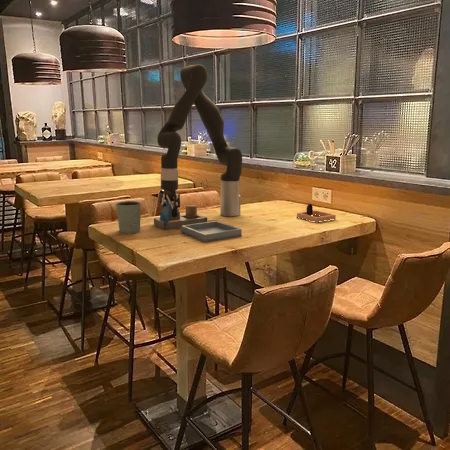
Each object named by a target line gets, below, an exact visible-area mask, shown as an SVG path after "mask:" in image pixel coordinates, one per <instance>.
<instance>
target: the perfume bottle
mask: <svg viewBox="0 0 450 450" xmlns="http://www.w3.org/2000/svg"><path fill="white" fill-rule="evenodd" d="M166 201H167V202H166V205H167V206H166V207H163V208H161V210H160V211H159V218H160V220H163V221H165V222H168V221H173V220H180V215H181V212H180V211H179V208H177V217H172V207H171V205H170V204H169V201H168V200H167V199H166ZM173 205H174V204H173Z"/></svg>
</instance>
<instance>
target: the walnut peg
mask: <svg viewBox="0 0 450 450" xmlns="http://www.w3.org/2000/svg"><path fill="white" fill-rule="evenodd" d="M197 212H198V205H196V204H186V205H185V215H186V218H187V219H194V218H197V214H198V213H197Z"/></svg>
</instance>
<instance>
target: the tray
mask: <svg viewBox="0 0 450 450" xmlns="http://www.w3.org/2000/svg"><path fill="white" fill-rule="evenodd" d="M242 230H243V229H242V228H240V227H237V226H234V225H231V224H228V223H224V222H221V221H219V220H213V221H207V222H204V223H197V224H190V225H183V226H181V228H180V233H181V234H183V235H186V236H189V237H191V238H193V239H196V240H198V241H200V242H202V243H209V242H215V241H220V240H227V239H232V238H238V237H242V233H243V231H242Z"/></svg>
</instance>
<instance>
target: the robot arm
mask: <svg viewBox="0 0 450 450" xmlns="http://www.w3.org/2000/svg"><path fill="white" fill-rule="evenodd" d="M179 73H180V80H181V83H182V86H184V89H185V91H184V93H183V94H182V95H181V97H180V98H179V99H178V100H177V101H176V103H175V104H174V106H172V109H171V112H170V114H169V117H168V120H167V121H166V123H165V124H164V125H163V126H162V128H161V129H160V131H159V133H158V134H157V139H156V140H157V141H156V143H157V145H158V147H160V148H162V149H167V151H166V153H165V154H162V155H161V157H160V190H159V203H160V204H161V207H162V208H163V207H166V206H167V205H166V202H167V201H166V199H167V200H168V201H169V204H170V205H171V207H172V217H177V209H180V208H181V194H180V193H177V192H176V191H177V190H179V171H178V169H179V168H178V158H179V155H180V150H181V146H182V138H181V135H180V134H179V133H178V132H177V131H181V130H182V129H184V126H185V123H186V121H187V119H188V116H189V113H190V111H191V109H192V107H193V106H194V107H195V109H196V112H198V115H199V117H200V120H201V122H202V124H203V126H204V128H205V131H206V133H207V134H208V137H209V139H210V141H211V144H212V147H213V149H214V152H215V155H216V158H217V160H218V162H219V164H221V165H222V166H224V167H226V171H225V172H224V173H222V174H221V175H220V204H219V205H220V210H219V212H220V215H221V216H224V217H236V216H239V215H241V208H242V207H241V205H242V202H241V200H242V198H241V196H242V195H240V178H241V175H242V167H243V154H242V151H241V149H240V148H238V147H233V146H230V145H228V144H227V141H226V138H225V135H224V131H225V130H224V129H225V122H224V119H223V116H222V114H221V112H220V109H219V107H218V106H217V105H216V104H215V102H213V101H212V100H211V99H210V98H209V97H208V96H207V95H206V94H205V92H204V91H203V88H204V87H205V85H206V83H207V81H208V77H209V76H208V74H209V73H208V70H207V67H206V66H205V65H203V64H200V63H198V64H190V65H187V66H183V67H182V68H181V70H180V71H179ZM173 204H174V205H173ZM162 208H161V209H162Z"/></svg>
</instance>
